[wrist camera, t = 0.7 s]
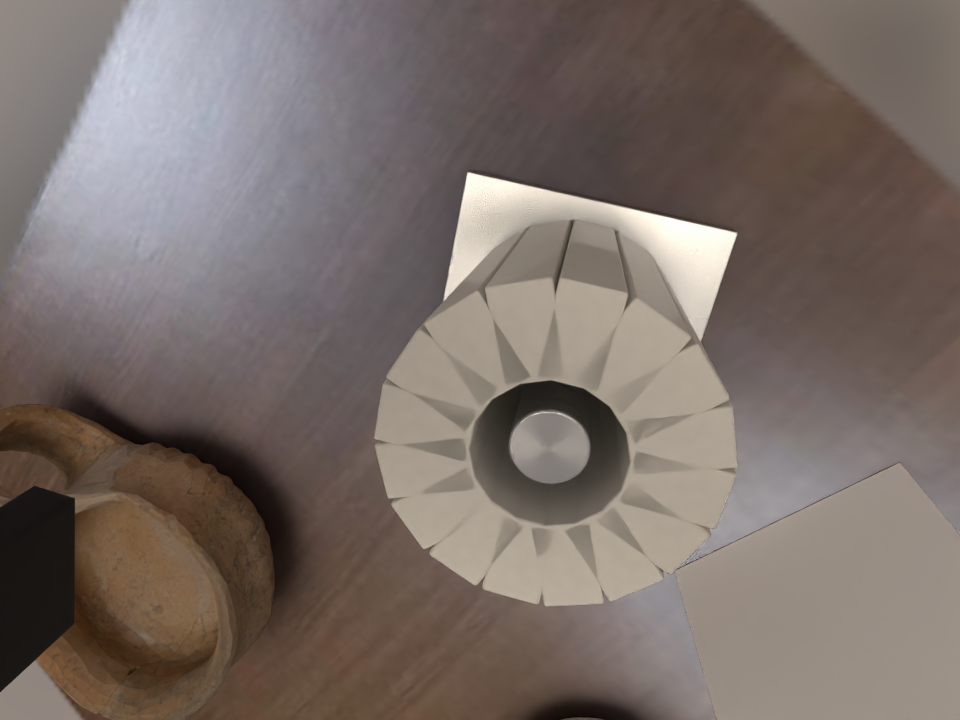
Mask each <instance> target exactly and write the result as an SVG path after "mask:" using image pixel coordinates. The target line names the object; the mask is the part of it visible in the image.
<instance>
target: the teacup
mask: <svg viewBox="0 0 960 720" xmlns="http://www.w3.org/2000/svg"><path fill="white" fill-rule="evenodd" d="M562 720H603V719H597V718H585V717H576V718H567V719H562Z"/></svg>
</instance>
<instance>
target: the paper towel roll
mask: <svg viewBox="0 0 960 720" xmlns="http://www.w3.org/2000/svg"><path fill="white" fill-rule="evenodd" d="M386 377H387V380H386V381H385V382H384V383H383V385H382V391H381V397H380V403H379V409H378V416H377V422H376V428H375V434H374V439H377V440H378V441H377V443H376V444H375V449H376V453H377V457H378V461H379V465H380V469H381V473H382V477H383V481H384V485H385V489H386V492H387V496H388V498H394V500H393V502H392V504H391V505H392V507H393V508H394V510H395V511H396V512H397V514H398V515H399V517H400V518H401V519H402V521H403V522H404V523H405V525H406V526H407V528H408V529H409V530H410V532H411V533H412V534H413V536H414V537H415V539H416V540H417V541H418V543H419V544H420V545H421V547H422V548H423V549H426V548H428V547H430V546H432V547H431V550H430V555H431V556H432V557H434V558H435V559H437V560H438V561H439V562H441V563H442V564H444V565H445V566H447V567H448V568H450V569H451V570H453V571H454V572H456V573H457V574H459V575H460V576H461V577H463V578H464V579H466V580H467V581H469V582H470V583H472V584H473V585H477V584H478V583H479V582H480V581H481V580H482V579H483V577H484V576H485V577H484V581H483V585H482V587H483V589H484V590H487V591H490V592H494V593H497V594H501V595H504V596H508V597H511V598H515V599H519V600H522V601H526V602H529V603H533V604H538V603H539V601H540V598H541V594H542V595H543V601H544V605H545V606H564V605H584V604H602V603H604V593H605V595H606V596H607V598H608V599H609V601H614V600H616V599H618V598H621V597H623V596H626V595H628V594H631V593H633V592H635V591H638V590H640V589H643V588H645V587H647V586H650V585H652V584H655V583H657V582H660V581H662V580H663V579H664V575H663V571H665V572H666V573H668V574H672V573H673V572H674V571H675V570H676V569H677V568H678V567H679V566H680V565H681V564H682V563H683V562H684V561H685V560H686V559H687V558H688V557H689V556H690V555H691V554H692V553H693V552H694V551H695V550H696V549H697V548H698V547H699V546H700V545H701V544H702V543H703V542H705V541H706V540H707V539H708V538H709V536H710V534H711V533H710V530H709V528H712V529H716V527H717V524H718V522H719V519H720V517H721V514H722V512H723V509H724V506H725V504H726V501H727V499H728V496H729V494H730V491H731V488H732V486H733V483H734V481H735V478H736V472H735V470H734V468H736V467H737V465H738V461H737V449H736V437H735V425H734V413H733V407H732V405H731V403H730V401H729V395H728V393H727V391H726V389H725V387H724V385H723V384H722V382H721V380H720V378H719V376H718V374H717V372H716V370H715V368H714V366H713V365H712V363H711V361H710V359H709V357H708V355H707V353H706V351H705V349H704V347H703V346H702V344H701V342H700V340H699V338H698V336H697V334H696V332H695V330H694V329H693V327H692V325H691V323H690V321H689V319H688V317H687V315H686V313H685V311H684V310H683V308H682V306H681V304H680V302H679V300H678V298H677V296H676V294H675V292H674V291H673V289H672V287H671V285H670V284H669V282H668V280H667V279H666V277H665V275H664V273H663V272H662V270H661V268H660V267H659V265H658V263H657V261H656V260H655V259H653V258H652V256H651V254H650V253H649V252H647V251H646V250H644V249H643V248H642V247H640V246H639V245H638V244H636V243H635V242H633V241H632V240H631V239H629V238H628V237H626V236H625V235H624V234H622V233H621V232H617V233H616V235H615V232H614V229H613V228H609V227H604V226H600V225H595V224H591V223H587V222H582V221H578V220H574V223H573V227H572V230H571V223H570V220H565V221H559V222H553V223H547V224H542V225H536V226H531V227H530V228H529V229H528V231H527V229H523V230H522V231H520V232H519V233H517V234H516V235H514V236H512V237H511V238H509V239H508V240H506V241H505V242H503V243H502V244H500V245H498V246H497V247H495V248H494V249H493V250H492V251H491V252H490V253H489V254H488V255H487V256H486V257H485V258H484V259H483V260H482V261H481V262H480V263H479V264H478V265H477V266H476V267H475V268H474V270H473V271H472V272H471V273H470V274H469V275H468V276H467V277H466V278H465V279H464V280H463V281H462V282H461V283H460V284H459V286H458V287H457V288H456V289H455V290H454V291H453V292H452V293H451V294H450V295H449V296H448V297H447V298H446V299H445V300H444V302H443V303H442V304H441V305H440V306H439V307H438V308H437V309H436V310H435V311H434V312H433V313H432V314H431V315H430V316H429V318H428V319H427V320H426V321H425V322H424V323H423V324H422V325H421V326H420V327H419V328H418V329H417V331H416V332H415V334H414V335H413V336H412V338H411V339H410V341H409V342H408V344H407V345H406V347H405V348H404V350H403V351H402V353H401V354H400V356H399V357H398V359H397V360H396V362H395V363H394V365H393V366H392V368H391V369H390V371H389V372H388V374H387V376H386ZM549 380H552V381H556V382H560V383H564V384H568V385H572V386H576V387H580V388H584V389H585V390H587V391H588V392H590V393H591V394H592V450H591V457H590V460H589V462H588V464H587V466H586V467H585V469H584V470H583V471H582V472H581V473H580V474H579V475H578V476H576V477H575V478H573V479H572V480H570V481H567V482H565V483H561V484H542V483H538V482H535V481H533V480H531V479H529V478H527V477H526V476H524V475H523V474H522V473H521V472H520V471H519V470H518V469H517V468H516V466H515V465H514V463H513V462H512V460H511V457H510V454H509V450H508V439H509V435H510V431H511V428H512V424H513V421H514V417H515V414H516V410H517V407H518V404H519V400H520V397H521V393H522V390H523V386H524V384H525V383H533V382H541V381H549Z"/></svg>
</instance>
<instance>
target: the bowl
mask: <svg viewBox="0 0 960 720" xmlns="http://www.w3.org/2000/svg"><path fill="white" fill-rule="evenodd" d="M9 450H13V451H22V452H28V453H32V454H35V455H38V456H41V457H44V458H46V459H47V460H49V461H51V462H52V463H53V464H54V465H55V466H56V467H57V470H58V472H59V475H60V477H61V479H62V481H63V483H64V490H63V491H58V492H56V493H59V494H63V495H66V496H70V497H73V498H75V619H74V625H73V626H71V627H70V628H69V629H68V630H67V631H66V632H65V633H64V634H63V635H62V636H61V637H60V638H58V639H57V640H56V641H55V642H54V643H53V644H52V645H51V646H50V647H49V648H48V649H46V650H45V651H44V652H43V653H42V654H41V655H40V656H39V657H38V658H37V660H38V662H39V664H40V666H41V667H42V668H43V669H44V670H45V671H46V672H47V673H48V674H50V675H51V676H52V678H53V679H54V680H55V682H56V683H57V684H58V685H59V687H61V688H62V689H63V690H64V691H65V692H66V693H67V694H68V695H69V696H70V697H71V698H72V699H73V700H75V701H76V702H77V703H78V704H79V705H80V706H82V707H84V708H86V709H88V710H89V711H91V712H93V713H95V714H97V713H100V712H101V715H102V716H104V717H107V718H109V719H113V720H183V719H185V718H187V717H188V716H190V715H191V714H193V713H194V712H196V711H197V710H198V709H200V708H201V707H202V706H203V705H204V704H205V703H206V702H207V701H208V700H209V699H210V698H211V697H212V696H213V695H214V694H215V693H216V692H217V690H218V689H219V687H220V686H221V684H222V683H223V682H224V680H225V678H226V676H227V674H228V672H229V670H230V668H231V667H232V666H233V665H234V664H235V663H236V662H237V661H238V660H239V659H240V658H241V657H242V656H243V655H244V653H245V652H246V651H247V650H248V649H249V647H250V646H251V645H252V644H253V643H254V642H255V641H256V640H257V639H258V637H259V636H260V634H261V632H262V631H263V629H264V627H265V623H266V622H267V621H268V619H269V618H270V616H271V613H272V603H273V598H274V590H275V589H274V587H275V580H274V579H275V573H274V566H273V554H272V550H271V547H270V537H269V534H268V532H267V531H266V529H265V526H264V522H263V520H262V518H261V516H260V515H259V514H258V513H257V510H256V508H255V506H254V504H253V503H252V502H251V501H250V499H249V498H248V497H246V496H245V495H244V494H243V492H242V491H241V490H240V489H239V488H237V487H236V486H234V485H233V482H232V480H231V479H230V478H229V477H228V476H225V475H222V474H220V473H218V471H217V470H216V468H215V466H213V465H211V464H204V463H202V462H200V460H199V459H198V458H197V457H196V456H194V455H193V454H190V453H182V452H181V451H179V450H178V449H177V448H173V447H171V448H165V447H163V446H162V445H161V444H159V443H153V442H152V443H148V444H146V445H139V444H134V443H133V442H131V441H128V440H126V439H123V438H122V437H120V436H118V435H116V434H115V433H113V432H111V431H110V430H108V429H106V428H105V427H103V426H101V425H100V424H98V423H96V422H94V421H91V420H89V419H86V418H84V417H82V416H79V415H77V414H75V413H73V412H70V411H68V410H64V409H61V408H56V407H50V406H45V405H40V404H26V405H15V406H11V407H7V408H3V409H0V451H9ZM14 498H16V497H15V496H13V495H12V494H10V493H9V492H8V491H6V490H5V489H3V488H2V487H1V486H0V507H1V506H3V505H4V504H6V503H8V502H9V501H11V500H13V499H14Z"/></svg>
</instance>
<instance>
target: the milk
mask: <svg viewBox="0 0 960 720" xmlns="http://www.w3.org/2000/svg"><path fill="white" fill-rule="evenodd" d="M675 574H676V578H677V581H678V585H679V589H680V592H681V596H682V599H683V603H684V606H685V610H686V613H687V617H688V620H689V624H690V628H691V631H692V635H693V638H694V642H695V645H696V649H697V652H698V656H699V660H700V663H701V667H702V670H703V674H704V677H705V681H706V684H707V688H708V691H709V695H710V699H711V702H712V706H713V709H714V713H715V716H716V720H960V535H959V534H958V533H957V532H956V530H955V529H954V528H953V527H952V526H951V524H950V523H949V522H948V521H947V519H946V518H945V517H944V516H943V515H942V513H941V512H940V511H939V510H938V508H937V507H936V506H935V505H934V504H933V502H932V501H931V500H930V499H929V498H928V496H927V495H926V494H925V493H924V491H923V490H922V489H921V488H920V487H919V485H918V484H917V483H916V482H915V480H914V479H913V478H912V477H911V476H910V474H909V473H908V472H907V471H906V469H905V468H904V467H903V466H902V465H901V463H898V464H896V465H894V466H891V467H889V468H887V469H885V470H883V471H881V472H879V473H877V474H875V475H873V476H871V477H869V478H866V479H864V480H862V481H860V482H858V483H856V484H854V485H852V486H850V487H848V488H846V489H844V490H842V491H839V492H837V493H835V494H833V495H831V496H829V497H827V498H825V499H823V500H821V501H819V502H817V503H815V504H812V505H810V506H808V507H806V508H804V509H802V510H800V511H798V512H796V513H794V514H792V515H790V516H787V517H785V518H783V519H781V520H779V521H777V522H775V523H773V524H771V525H769V526H767V527H765V528H763V529H760V530H758V531H756V532H754V533H752V534H750V535H748V536H746V537H744V538H742V539H740V540H738V541H736V542H733V543H731V544H729V545H727V546H725V547H723V548H721V549H719V550H717V551H715V552H713V553H711V554H708V555H706V556H704V557H702V558H700V559H698V560H696V561H694V562H692V563H690V564H688V565H686V566H684V567H681V568H679V569H677V570H675Z"/></svg>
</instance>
